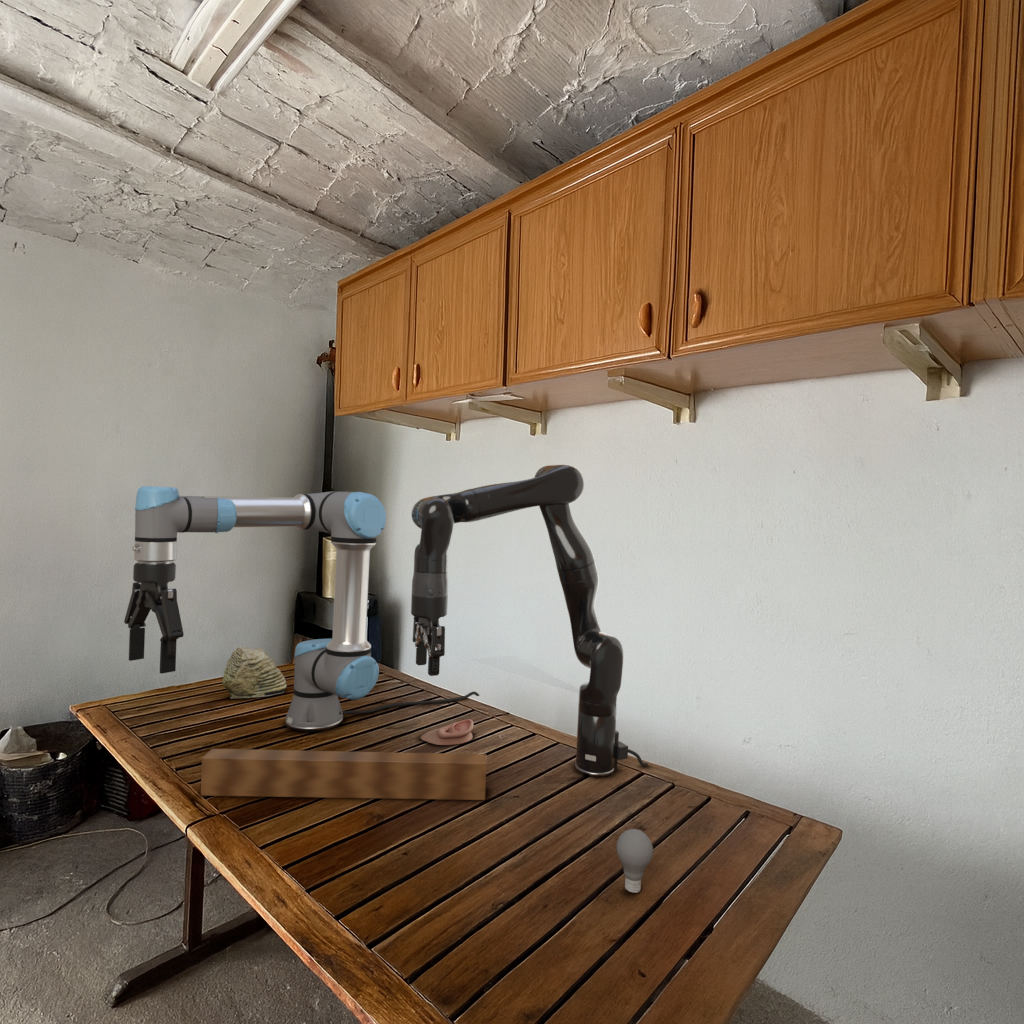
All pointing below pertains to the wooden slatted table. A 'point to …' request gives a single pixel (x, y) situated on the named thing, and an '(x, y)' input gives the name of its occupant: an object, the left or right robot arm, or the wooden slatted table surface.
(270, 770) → the beam
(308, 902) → the wooden slatted table surface
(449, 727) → the anatomical model
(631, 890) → the light bulb
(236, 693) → the fossil
